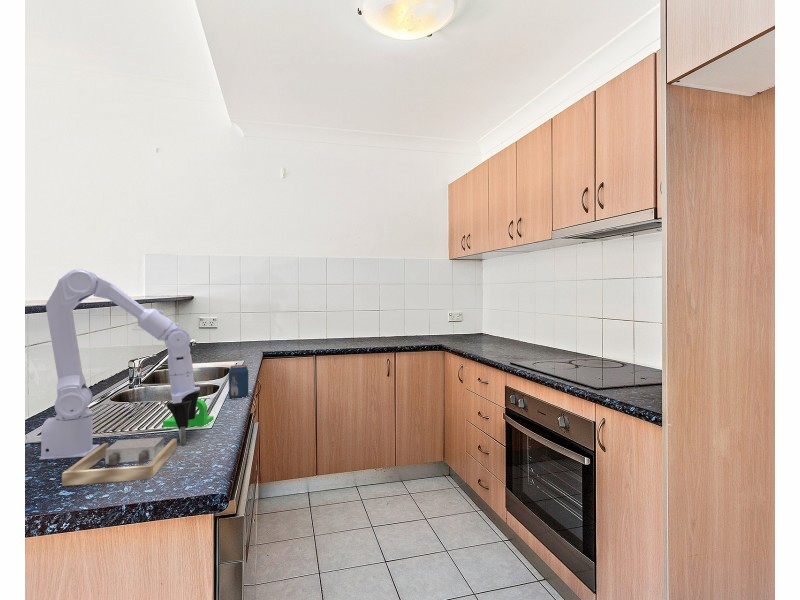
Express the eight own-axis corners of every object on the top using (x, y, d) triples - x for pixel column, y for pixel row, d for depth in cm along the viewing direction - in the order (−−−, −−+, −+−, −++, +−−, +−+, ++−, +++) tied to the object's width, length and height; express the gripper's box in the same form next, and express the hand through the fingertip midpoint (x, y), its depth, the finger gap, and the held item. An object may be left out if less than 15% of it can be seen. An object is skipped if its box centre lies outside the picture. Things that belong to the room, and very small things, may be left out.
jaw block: (105, 465, 99) (105, 449, 99) (118, 454, 106) (118, 440, 106) (154, 461, 101) (154, 446, 101) (163, 451, 108) (163, 437, 108)
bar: (180, 445, 112) (180, 429, 112) (178, 432, 123) (178, 418, 123) (185, 444, 113) (185, 428, 113) (182, 432, 123) (182, 417, 123)
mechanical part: (213, 422, 134) (213, 396, 133) (203, 428, 127) (203, 400, 127) (174, 422, 134) (174, 395, 134) (162, 428, 128) (162, 400, 128)
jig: (61, 486, 87) (62, 463, 87) (108, 450, 108) (108, 431, 108) (159, 478, 91) (159, 456, 91) (185, 445, 112) (186, 427, 112)
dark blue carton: (247, 395, 171) (247, 364, 171) (249, 399, 164) (249, 366, 165) (227, 397, 168) (227, 365, 168) (229, 401, 162) (229, 368, 162)
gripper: (191, 376, 112) (197, 429, 112) (203, 366, 126) (208, 413, 127) (160, 380, 110) (166, 433, 111) (176, 370, 124) (181, 417, 125)
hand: (187, 423), depth 119 cm, fingers open, 7 cm apart
